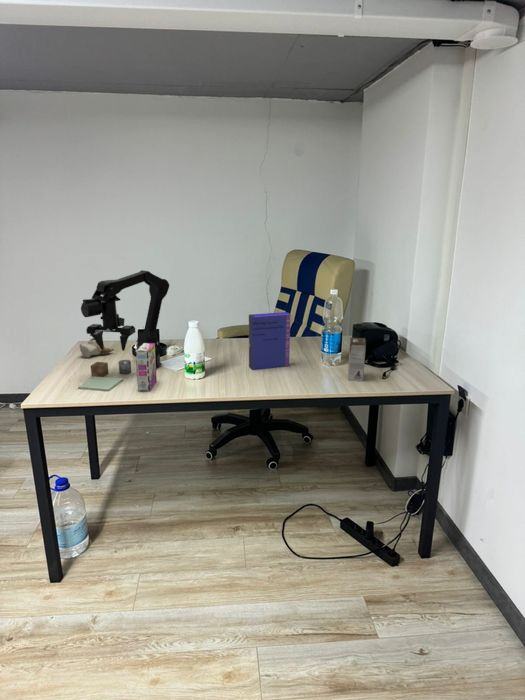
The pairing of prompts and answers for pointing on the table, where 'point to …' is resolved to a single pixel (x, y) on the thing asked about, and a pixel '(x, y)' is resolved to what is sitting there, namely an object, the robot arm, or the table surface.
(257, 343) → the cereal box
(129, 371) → the metal cylinder
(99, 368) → the walnut block
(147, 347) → the candy bar box
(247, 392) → the table surface
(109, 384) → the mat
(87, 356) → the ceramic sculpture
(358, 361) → the coffee box
